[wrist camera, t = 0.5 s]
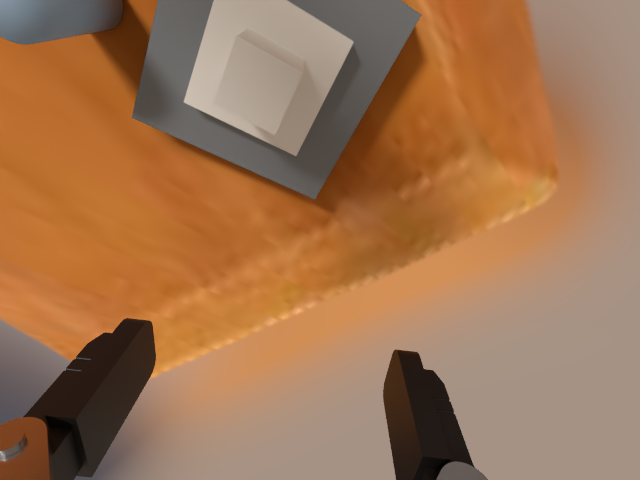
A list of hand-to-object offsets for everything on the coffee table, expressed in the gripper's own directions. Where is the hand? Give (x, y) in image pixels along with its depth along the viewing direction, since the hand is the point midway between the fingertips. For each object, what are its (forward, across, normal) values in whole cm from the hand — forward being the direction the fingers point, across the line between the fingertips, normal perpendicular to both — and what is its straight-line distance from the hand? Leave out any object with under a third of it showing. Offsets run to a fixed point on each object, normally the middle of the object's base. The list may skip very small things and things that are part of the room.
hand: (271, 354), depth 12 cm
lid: (+20, +4, -8) cm, 22 cm away
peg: (+21, +17, -11) cm, 29 cm away
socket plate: (+23, +4, -8) cm, 25 cm away
